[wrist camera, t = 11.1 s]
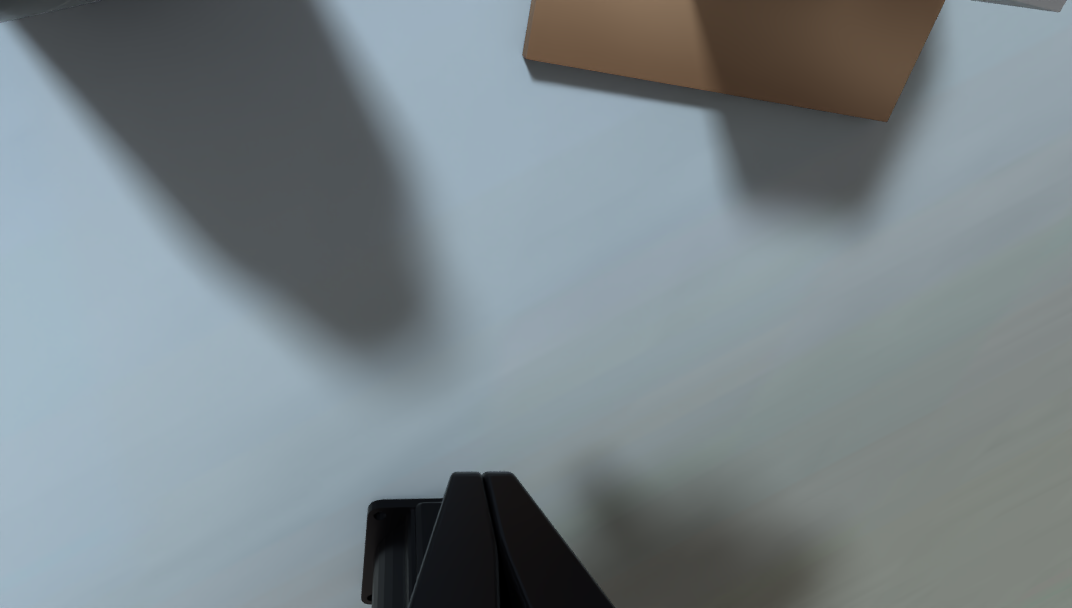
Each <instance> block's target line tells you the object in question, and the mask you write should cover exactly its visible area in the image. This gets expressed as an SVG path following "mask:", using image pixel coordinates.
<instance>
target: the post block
mask: <svg viewBox="0 0 1072 608" xmlns="http://www.w3.org/2000/svg"><path fill="white" fill-rule="evenodd" d="M944 2H945V0H532V1H531V7H530V13H529V19H528V24H527V30H526V36H525V42H524V48H523V54H522V55H523V56H524V57H525V58H526V59H529V60H534V61H540V62H546V63H552V64H557V65H563V66H569V67H574V68H580V69H586V70H592V71H597V72H603V73H609V74H615V75H620V76H626V77H632V78H637V79H643V80H649V81H655V82H660V83H666V84H672V85H677V86H683V87H689V88H695V89H700V90H706V91H712V92H718V93H723V94H729V95H735V96H740V97H746V98H752V99H758V100H763V101H769V102H775V103H780V104H786V105H792V106H798V107H803V108H809V109H815V110H820V111H826V112H832V113H838V114H843V115H849V116H855V117H861V118H866V119H872V120H878V121H883V122H887V121H888V119H889V117H890V115H891V113H892V111H893V109H894V107H895V105H896V103H897V100H898V98H899V96H900V94H901V92H902V90H903V88H904V86H905V84H906V82H907V80H908V77H909V75H910V73H911V71H912V69H913V67H914V65H915V63H916V61H917V59H918V57H919V54H920V52H921V50H922V48H923V46H924V44H925V42H926V40H927V38H928V36H929V34H930V31H931V29H932V27H933V25H934V23H935V21H936V19H937V17H938V15H939V13H940V11H941V8H942V6H943V4H944Z"/></svg>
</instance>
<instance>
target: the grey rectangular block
mask: <svg viewBox="0 0 1072 608" xmlns="http://www.w3.org/2000/svg"><path fill="white" fill-rule="evenodd" d="M973 1H981V2H988V3H995V4H1002V5H1010V6H1017V7H1024V8H1031V9H1039V10H1046V11H1053V12H1060V11H1061V9H1062V7H1063V6H1064V4H1065V2H1066V0H973Z"/></svg>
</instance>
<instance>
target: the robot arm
mask: <svg viewBox="0 0 1072 608" xmlns="http://www.w3.org/2000/svg"><path fill="white" fill-rule="evenodd" d="M361 599H362V601H363V602H364V603H366V604H372V608H615V607H614V605H613V604H612V603H611V601H610V600H609V599H608V597H607V596H606V595H605V594H604V592H603V591H602V590H601V588H600V587H599V586H598V584H597V583H596V582H595V580H594V579H593V578H592V576H591V575H590V574H589V572H588V571H587V570H586V569H585V567H584V566H583V565H582V563H581V562H580V561H579V559H578V558H577V557H576V555H575V554H574V553H573V551H572V550H571V549H570V547H569V546H568V545H567V543H566V542H565V541H564V540H563V538H562V537H561V536H560V534H559V533H558V532H557V530H556V529H555V528H554V526H553V525H552V524H551V522H550V521H549V520H548V518H547V517H546V516H545V514H544V513H543V512H542V511H541V509H540V508H539V507H538V505H537V504H536V503H535V501H534V500H533V499H532V497H531V496H530V495H529V493H528V492H527V491H526V489H525V488H524V487H523V485H522V484H521V483H520V482H519V480H518V479H517V478H516V476H515V475H514V474H513V473H511V472H507V471H503V472H485V473H483V474H482V475H481V474H480V473H479V472H454V473H452V475H451V477H450V479H449V482H448V485H447V488H446V491H445V494H444V497H443V499H403V500H377V501H374V502H372V503H371V504H370V505H369V507H368V514H367V527H366V540H365V554H364V567H363V580H362V594H361Z"/></svg>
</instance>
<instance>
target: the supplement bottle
mask: <svg viewBox="0 0 1072 608" xmlns="http://www.w3.org/2000/svg"><path fill="white" fill-rule="evenodd" d="M98 1H102V0H0V23H2V22H6V21H11V20H16V19H20V18H25V17H29V16H34V15H38V14H43V13H48V12H52V11H57V10H61V9H66V8H70V7H75V6H80V5H84V4H89V3H93V2H98Z"/></svg>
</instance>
